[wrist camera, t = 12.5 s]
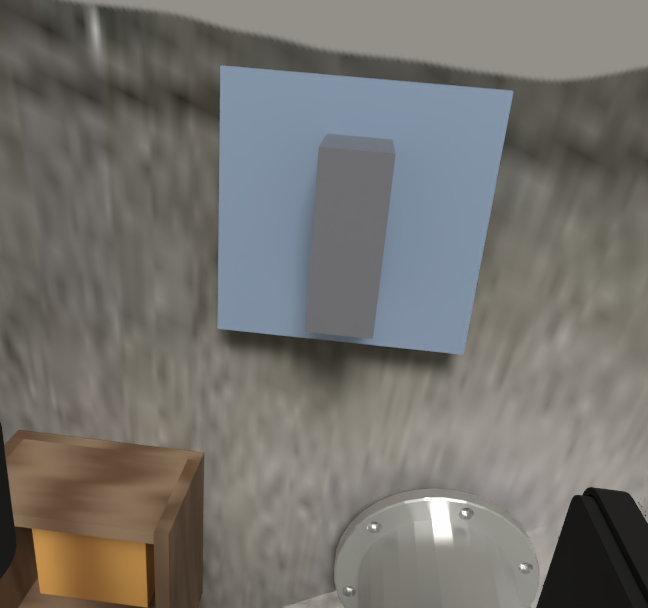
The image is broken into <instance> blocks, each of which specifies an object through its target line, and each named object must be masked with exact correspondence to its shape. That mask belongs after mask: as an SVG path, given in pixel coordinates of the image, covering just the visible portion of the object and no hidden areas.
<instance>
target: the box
mask: <svg viewBox="0 0 648 608" xmlns="http://www.w3.org/2000/svg"><path fill="white" fill-rule="evenodd" d="M4 449H5V456H6V464H7V472H8V480H9V487H10V495H11V503H12V511H13V518H14V526H15V534H16V542H17V546H16V552H15V556H14V558H13V561H12V563H11V565H10V566H9V568H8V569H7V571H6V572H5V574H4V575H3V576H2V578H1V579H0V608H197V606H198V603H199V600H200V597H201V594H202V559H203V483H204V453H201V452H193V451H185V450H177V449H168V448H160V447H152V446H144V445H136V444H128V443H120V442H112V441H103V440H95V439H87V438H79V437H71V436H63V435H55V434H47V433H39V432H30V431H22V430H18V431H17V433H16V434H15V435H14V436H13V437H12V438H11V439H10V440H9V441H8V442H7V443H6V444H5V445H4Z"/></svg>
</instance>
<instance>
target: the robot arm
mask: <svg viewBox="0 0 648 608" xmlns="http://www.w3.org/2000/svg"><path fill="white" fill-rule="evenodd" d="M16 546H17V542H16V534H15V526H14V518H13V511H12V503H11V495H10V487H9V480H8V472H7V464H6V456H5V449H4V441H3V433H2V426H1V423H0V579H1V578H2V576H3V575H4V574H5V572H6V571H7V569H8V568H9V566H10V565H11V563H12V561H13V558H14V556H15V552H16ZM334 582H335V586H336V590H337V594H338V596H339V598H340V600H341V602H342V603H343V605H344V607H345V608H530V606H531V604H532V602H533V601H534V599H535V596H536V593H537V589H538V586H539V566H538V561H537V557H536V553H535V551H534V548H533V546H532V543H531V540H530V538H529V536H528V534H527V533H526V532H525V530H524V529H523V527H522V526H521V524H520V523H519V522H518V521H517V520H516V519H515V518H514V517H513V516H511V515H510V514H509V513H508V512H507V511H506V510H504V509H502V508H501V507H499V506H498V505H496V504H494V503H493V502H491V501H489V500H486V499H484V498H481V497H479V496H476V495H474V494H470V493H465V492H461V491H457V490H449V489H435V488H433V489H420V490H412V491H407V492H403V493H399V494H395V495H392V496H390V497H388V498H385V499H383V500H380V501H378V502H376V503H375V504H373V505H371V506H370V507H368V508H367V509H365V510H364V511H362V512H361V513H360V514H359V515H358V516H357V517H356V518H355V519H354V520H353V521H352V522H351V523H350V524H349V525H348V527H347V528H346V530H345V531H344V533H343V534H342V536H341V538H340V541H339V544H338V546H337V549H336V555H335V564H334ZM536 608H648V523H647V522H646V520H645V518H644V517H643V515H642V513H641V511H640V510H639V508H638V506H637V505H636V503H635V501H634V500H633V498H632V497H631V496H630V494H629V493H627V492H623V491H616V490H608V489H600V488H593V487H590V488H587V489H586V490H585V491H584V493H583V495H575V496H574V497H573V498H572V500H571V503H570V506H569V509H568V512H567V515H566V518H565V521H564V524H563V527H562V530H561V534H560V537H559V540H558V543H557V546H556V549H555V552H554V555H553V558H552V561H551V564H550V567H549V570H548V573H547V577H546V580H545V583H544V586H543V589H542V592H541V595H540V598H539V601H538V604H537V607H536Z"/></svg>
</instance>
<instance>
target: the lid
mask: <svg viewBox="0 0 648 608" xmlns="http://www.w3.org/2000/svg"><path fill="white" fill-rule="evenodd" d="M512 97H513V91H511V90H501V89H489V88H478V87H466V86H454V85H443V84H431V83H420V82H408V81H397V80H385V79H374V78H362V77H351V76H339V75H328V74H316V73H304V72H293V71H281V70H270V69H258V68H247V67H235V66H220V156H219V248H218V329H225V330H234V331H244V332H253V333H263V334H272V335H282V336H291V337H301V338H310V339H320V340H329V341H338V342H348V343H357V344H367V345H376V346H386V347H395V348H405V349H414V350H424V351H433V352H443V353H452V354H462V355H463V354H464V349H465V344H466V339H467V333H468V328H469V323H470V318H471V312H472V307H473V302H474V297H475V291H476V286H477V281H478V275H479V270H480V265H481V260H482V254H483V249H484V244H485V239H486V233H487V228H488V223H489V218H490V212H491V207H492V202H493V197H494V191H495V186H496V181H497V175H498V170H499V165H500V160H501V154H502V149H503V144H504V139H505V133H506V128H507V123H508V118H509V112H510V107H511V102H512Z"/></svg>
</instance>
